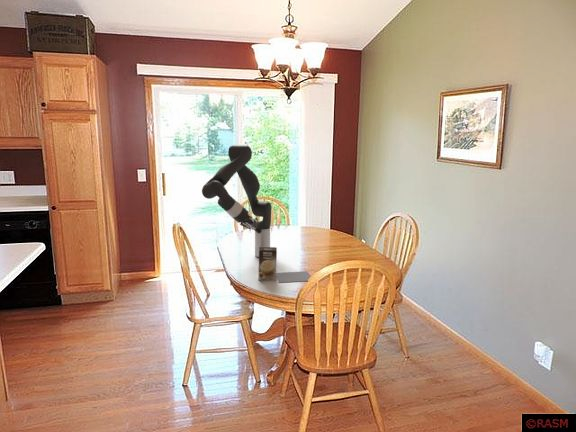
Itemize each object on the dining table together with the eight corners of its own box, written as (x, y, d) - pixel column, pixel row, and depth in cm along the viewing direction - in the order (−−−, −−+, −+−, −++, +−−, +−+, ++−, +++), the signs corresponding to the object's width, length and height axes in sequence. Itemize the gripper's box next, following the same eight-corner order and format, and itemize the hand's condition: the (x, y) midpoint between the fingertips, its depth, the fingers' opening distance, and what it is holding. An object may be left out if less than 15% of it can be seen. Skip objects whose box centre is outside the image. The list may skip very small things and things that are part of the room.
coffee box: (258, 280, 208) (258, 250, 205) (258, 276, 214) (258, 246, 211) (276, 280, 208) (276, 250, 205) (276, 276, 215) (276, 246, 211)
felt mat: (274, 273, 219) (274, 272, 219) (307, 271, 222) (307, 271, 222) (279, 282, 205) (279, 282, 205) (313, 280, 209) (314, 280, 209)
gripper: (248, 203, 198) (271, 225, 206) (232, 207, 208) (255, 227, 216) (241, 215, 194) (265, 237, 203) (225, 218, 204) (249, 239, 212)
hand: (260, 232), depth 209 cm, fingers closed
